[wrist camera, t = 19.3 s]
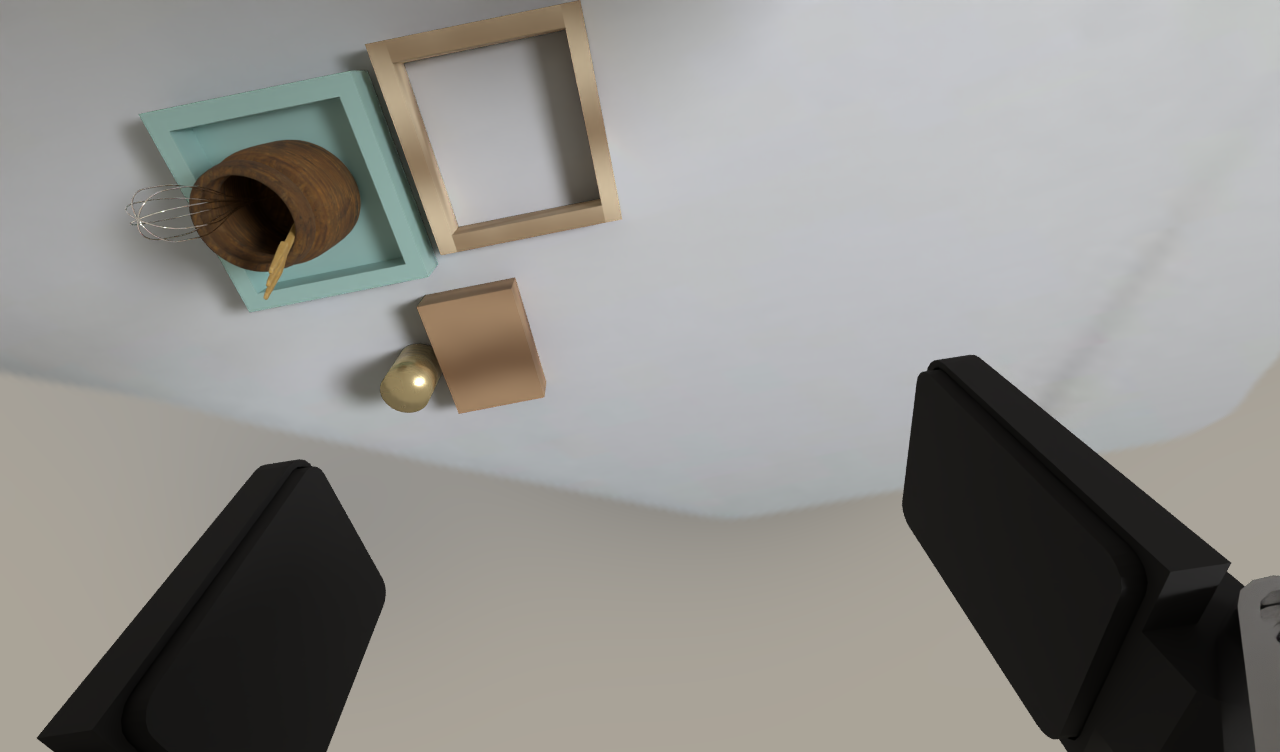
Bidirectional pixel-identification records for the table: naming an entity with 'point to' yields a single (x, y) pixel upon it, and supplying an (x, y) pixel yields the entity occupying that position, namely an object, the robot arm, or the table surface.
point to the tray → (346, 127)
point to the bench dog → (411, 379)
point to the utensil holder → (271, 206)
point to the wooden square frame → (418, 148)
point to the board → (484, 345)
